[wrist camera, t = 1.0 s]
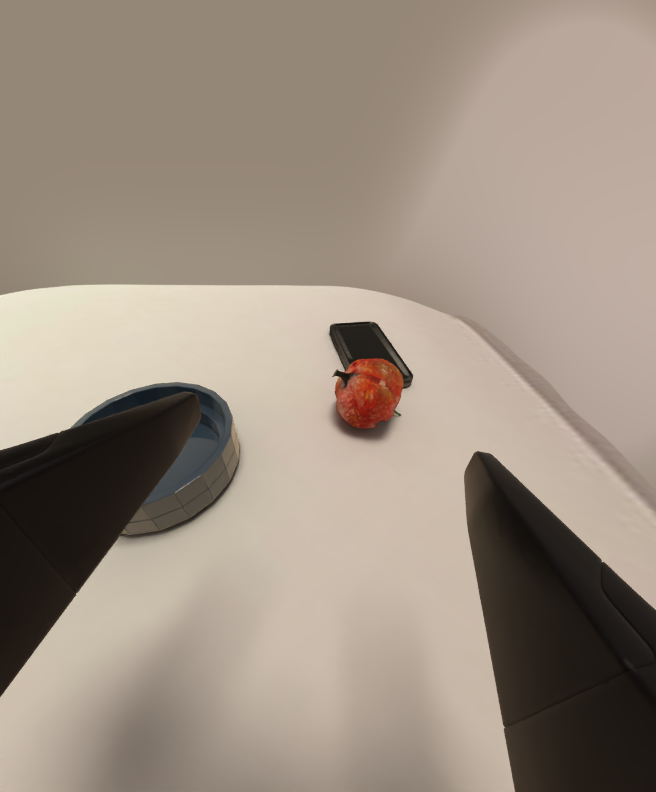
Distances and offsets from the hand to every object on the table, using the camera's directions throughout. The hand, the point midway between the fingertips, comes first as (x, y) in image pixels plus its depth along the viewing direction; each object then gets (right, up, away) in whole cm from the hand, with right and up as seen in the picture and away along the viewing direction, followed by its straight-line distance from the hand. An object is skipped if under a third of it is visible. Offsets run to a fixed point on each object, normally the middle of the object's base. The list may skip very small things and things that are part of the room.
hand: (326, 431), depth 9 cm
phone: (+5, +7, +32) cm, 33 cm away
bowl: (-15, -5, +17) cm, 23 cm away
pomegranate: (+4, -1, +23) cm, 24 cm away
